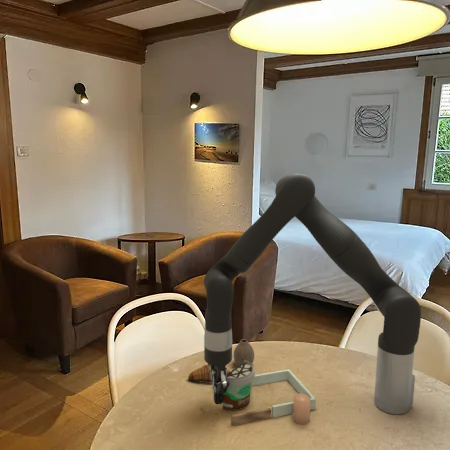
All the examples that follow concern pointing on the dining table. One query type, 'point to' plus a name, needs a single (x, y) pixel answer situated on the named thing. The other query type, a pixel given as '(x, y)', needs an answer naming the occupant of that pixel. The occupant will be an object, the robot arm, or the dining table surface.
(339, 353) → the dining table surface
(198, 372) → the croissant
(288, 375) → the bay
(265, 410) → the brown flat strips
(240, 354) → the vase
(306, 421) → the tan rounded piece
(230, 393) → the food container
